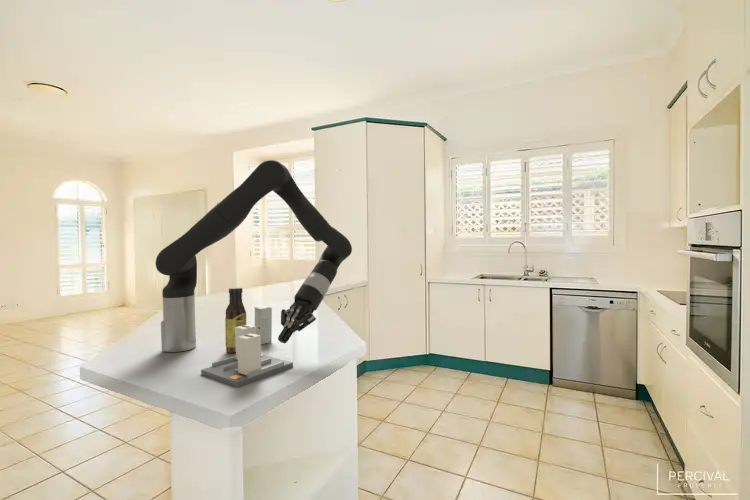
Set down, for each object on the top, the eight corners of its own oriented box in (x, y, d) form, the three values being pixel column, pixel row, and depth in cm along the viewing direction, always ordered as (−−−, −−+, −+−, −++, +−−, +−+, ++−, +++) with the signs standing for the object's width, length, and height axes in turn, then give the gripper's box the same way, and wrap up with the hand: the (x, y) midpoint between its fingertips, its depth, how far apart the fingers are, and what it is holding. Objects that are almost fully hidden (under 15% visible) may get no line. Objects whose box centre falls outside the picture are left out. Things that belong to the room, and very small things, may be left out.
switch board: (256, 357, 110) (256, 349, 110) (293, 366, 100) (292, 358, 100) (201, 374, 96) (200, 365, 96) (237, 387, 87) (237, 378, 87)
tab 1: (248, 355, 106) (247, 323, 106) (256, 358, 104) (256, 325, 104) (235, 359, 103) (234, 326, 103) (244, 361, 101) (243, 328, 100)
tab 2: (251, 368, 96) (250, 332, 95) (261, 370, 93) (260, 334, 93) (237, 372, 92) (236, 336, 92) (247, 375, 90) (246, 338, 90)
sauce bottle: (239, 354, 113) (237, 289, 113) (221, 353, 114) (219, 289, 114) (251, 348, 119) (249, 286, 119) (233, 347, 121) (231, 286, 120)
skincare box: (254, 341, 128) (253, 306, 128) (266, 339, 131) (265, 305, 130) (259, 345, 123) (258, 308, 123) (273, 342, 126) (272, 307, 125)
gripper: (290, 282, 112) (257, 331, 102) (322, 284, 104) (289, 337, 95) (304, 297, 116) (274, 345, 107) (335, 300, 109) (305, 352, 99)
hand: (281, 341), depth 101 cm, fingers closed
